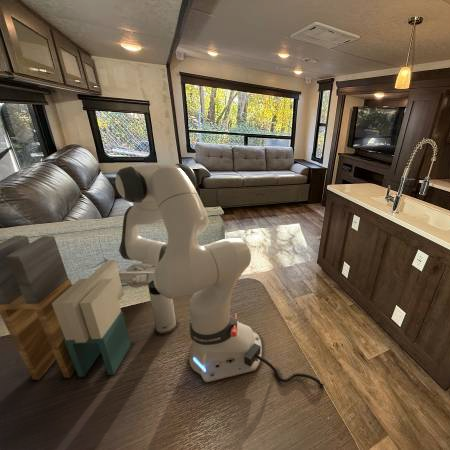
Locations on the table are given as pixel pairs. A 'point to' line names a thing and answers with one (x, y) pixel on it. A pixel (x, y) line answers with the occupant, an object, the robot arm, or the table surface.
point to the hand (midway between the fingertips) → (118, 279)
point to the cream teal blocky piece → (96, 328)
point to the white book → (73, 300)
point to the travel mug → (162, 310)
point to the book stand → (34, 302)
